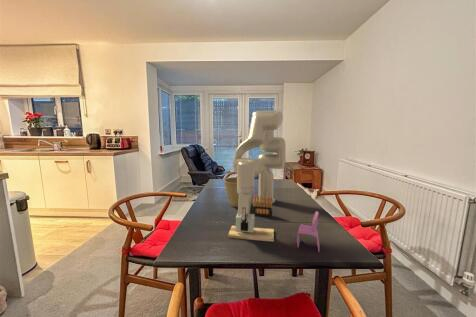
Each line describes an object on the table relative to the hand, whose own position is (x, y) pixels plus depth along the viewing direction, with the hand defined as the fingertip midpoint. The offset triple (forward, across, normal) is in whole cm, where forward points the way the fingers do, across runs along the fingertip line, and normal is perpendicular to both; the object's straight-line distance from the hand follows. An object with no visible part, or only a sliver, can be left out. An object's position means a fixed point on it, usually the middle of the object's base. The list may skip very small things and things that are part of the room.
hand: (245, 227), depth 95 cm
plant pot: (+3, -35, -10) cm, 36 cm away
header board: (+3, 0, +3) cm, 4 cm away
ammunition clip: (+4, -22, +7) cm, 23 cm away
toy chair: (+3, +5, +27) cm, 28 cm away
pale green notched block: (+1, 0, 0) cm, 1 cm away
